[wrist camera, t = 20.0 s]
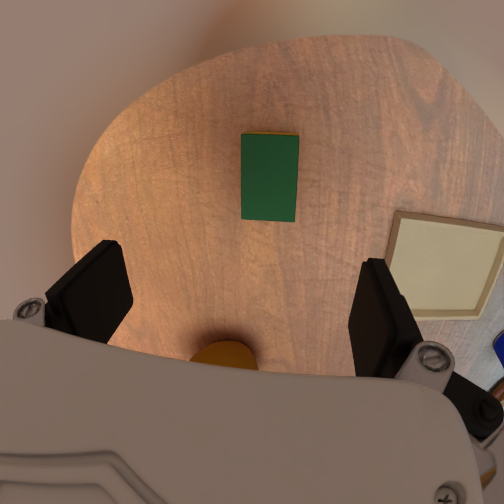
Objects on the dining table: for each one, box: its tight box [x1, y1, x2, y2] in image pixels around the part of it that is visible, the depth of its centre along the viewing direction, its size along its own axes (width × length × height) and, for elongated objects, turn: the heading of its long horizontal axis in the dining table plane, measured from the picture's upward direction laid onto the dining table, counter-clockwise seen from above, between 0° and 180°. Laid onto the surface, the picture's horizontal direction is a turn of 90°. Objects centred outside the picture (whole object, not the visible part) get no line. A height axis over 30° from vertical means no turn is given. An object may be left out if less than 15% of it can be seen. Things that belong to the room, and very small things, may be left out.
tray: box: [385, 211, 504, 320], centre depth 30 cm, size 13×17×2 cm
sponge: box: [241, 131, 299, 222], centre depth 27 cm, size 8×5×4 cm, turn 0°
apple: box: [190, 341, 259, 370], centre depth 36 cm, size 11×11×13 cm
